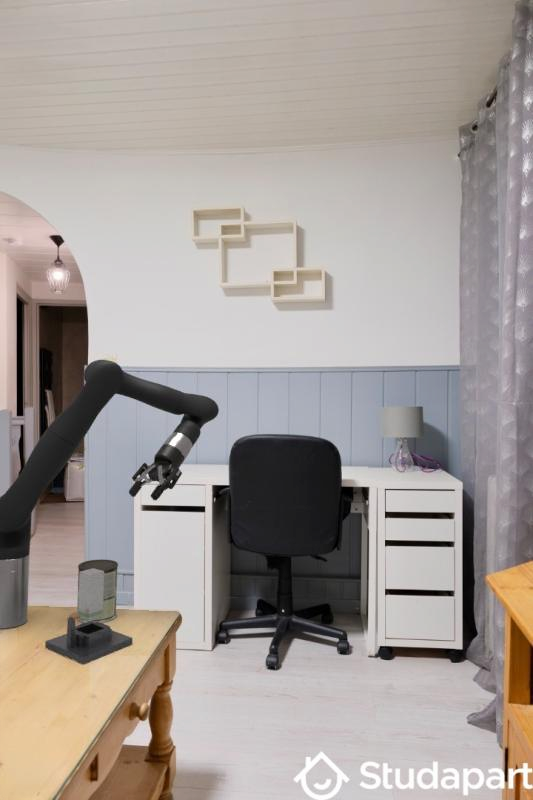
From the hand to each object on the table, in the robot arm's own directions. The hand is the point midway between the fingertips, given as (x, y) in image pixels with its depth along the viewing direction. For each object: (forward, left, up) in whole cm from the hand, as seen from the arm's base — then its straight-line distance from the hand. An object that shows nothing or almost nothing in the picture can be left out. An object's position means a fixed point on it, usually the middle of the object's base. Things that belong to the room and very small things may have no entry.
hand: (142, 496), depth 153 cm
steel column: (+4, -19, -26) cm, 32 cm away
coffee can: (-10, -6, -33) cm, 35 cm away
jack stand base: (+4, -19, -33) cm, 38 cm away
